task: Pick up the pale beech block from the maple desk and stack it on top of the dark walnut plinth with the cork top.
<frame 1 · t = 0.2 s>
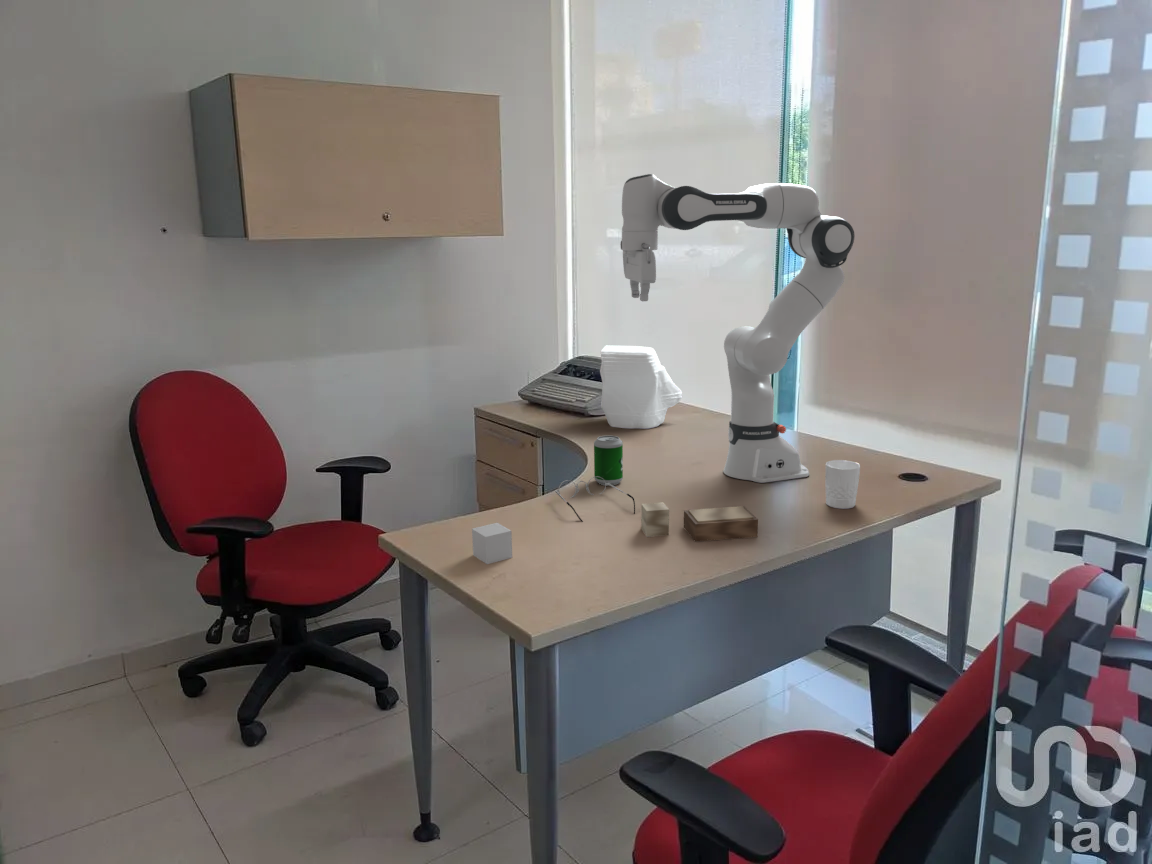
hand: (639, 299, 214), 48 cm above the table, fingers open, 8 cm apart
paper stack: (635, 426, 286), on the table
block: (654, 532, 189), on the table
eyeglasses: (594, 508, 207), on the table
white cup: (840, 505, 205), on the table
plinth: (719, 532, 188), on the table
grey cube: (492, 557, 177), on the table
soda can: (608, 483, 225), on the table
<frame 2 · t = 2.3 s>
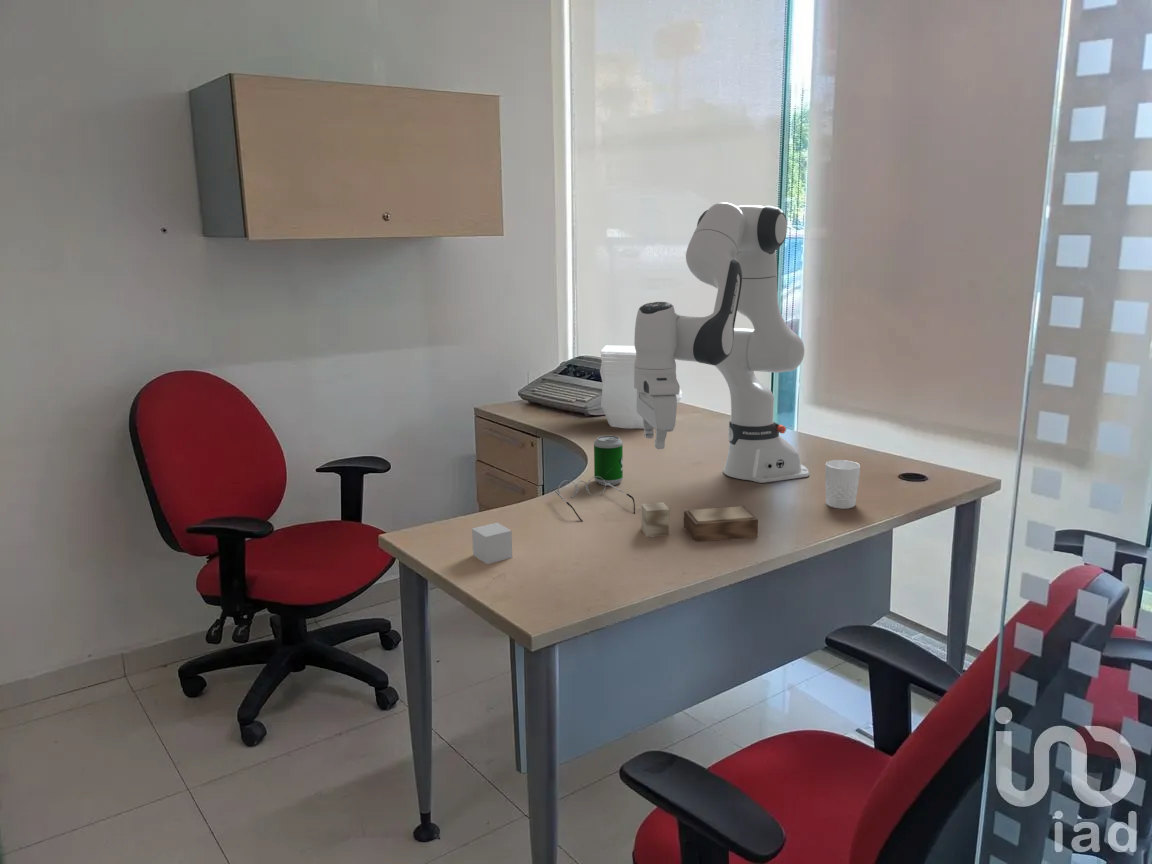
hand: (654, 443, 185), 20 cm above the table, fingers open, 8 cm apart
nothing on the table moved.
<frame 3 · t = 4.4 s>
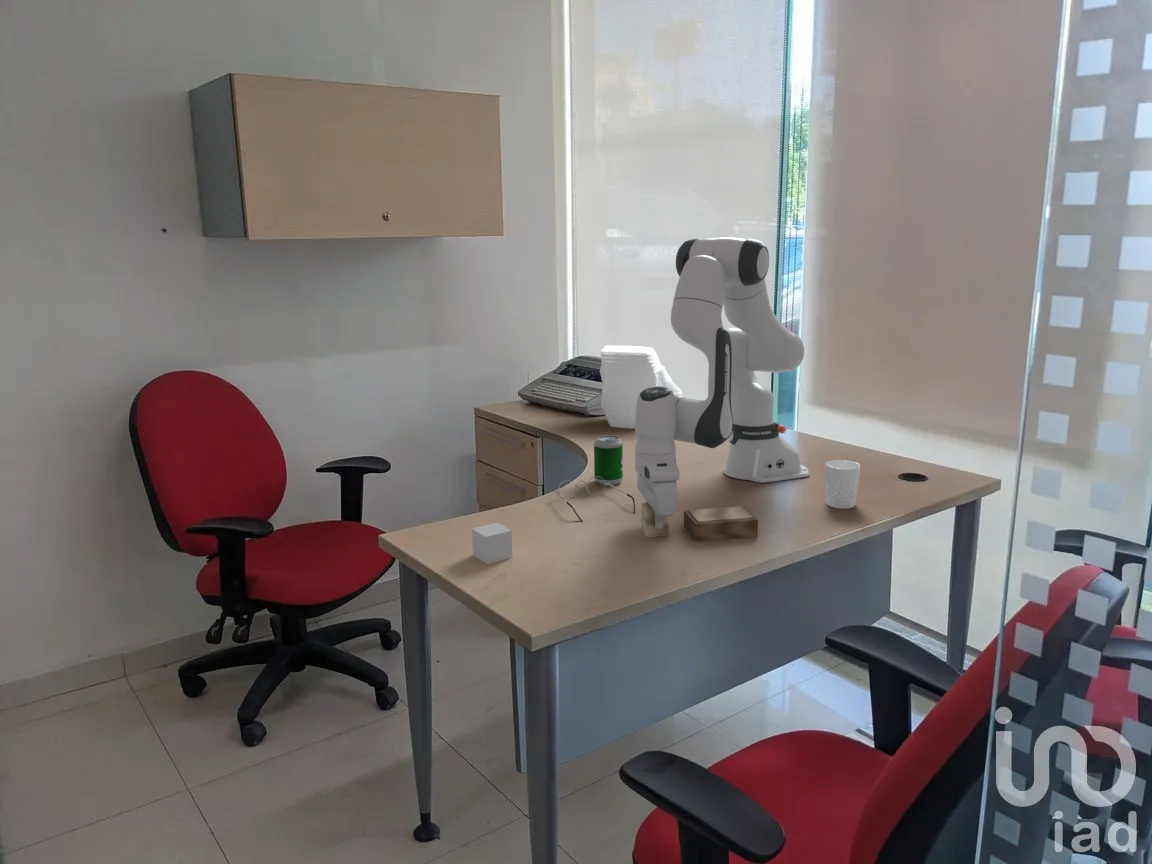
hand: (654, 522, 189), 2 cm above the table, fingers closed on block, 5 cm apart
block: (654, 531, 189), on the table, touching gripper
everything else where it was.
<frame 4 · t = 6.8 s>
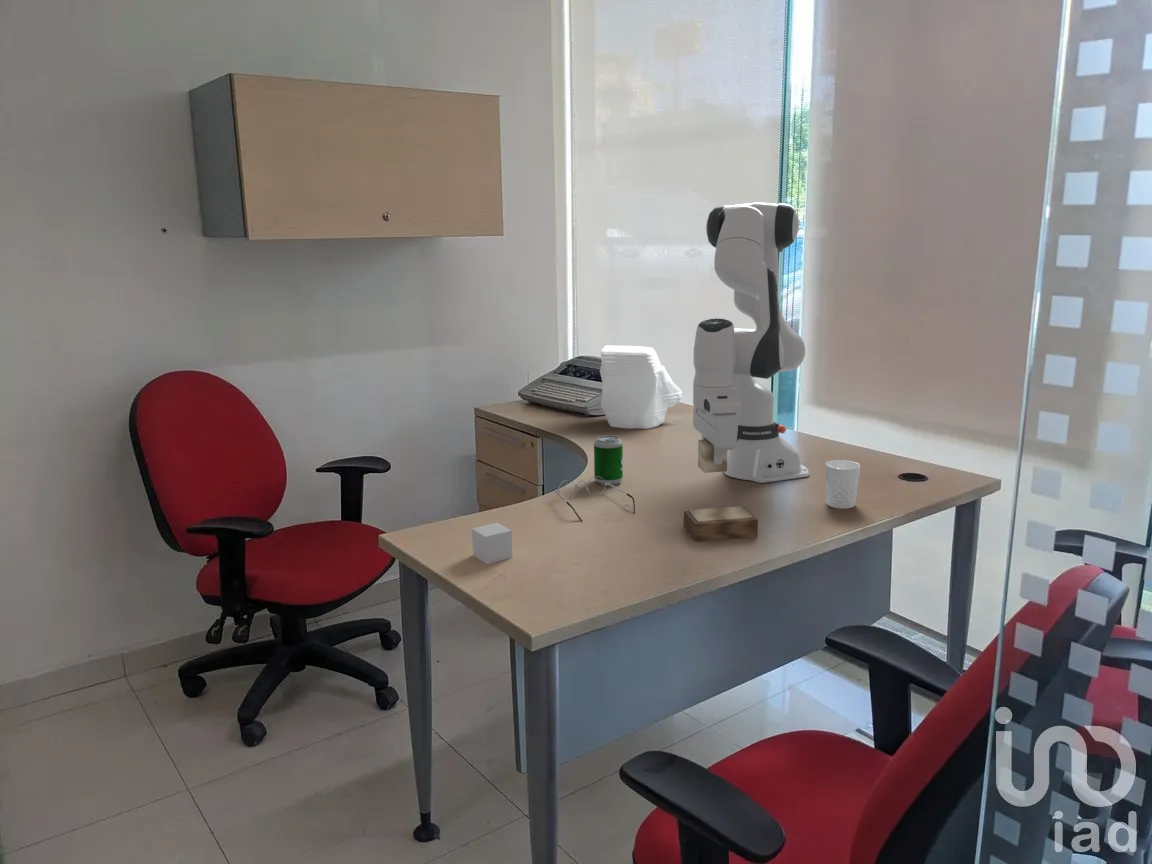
hand: (712, 459, 185), 17 cm above the table, fingers closed on block, 5 cm apart
block: (712, 468, 185), point 14 cm above the table, touching gripper
everything else where it was.
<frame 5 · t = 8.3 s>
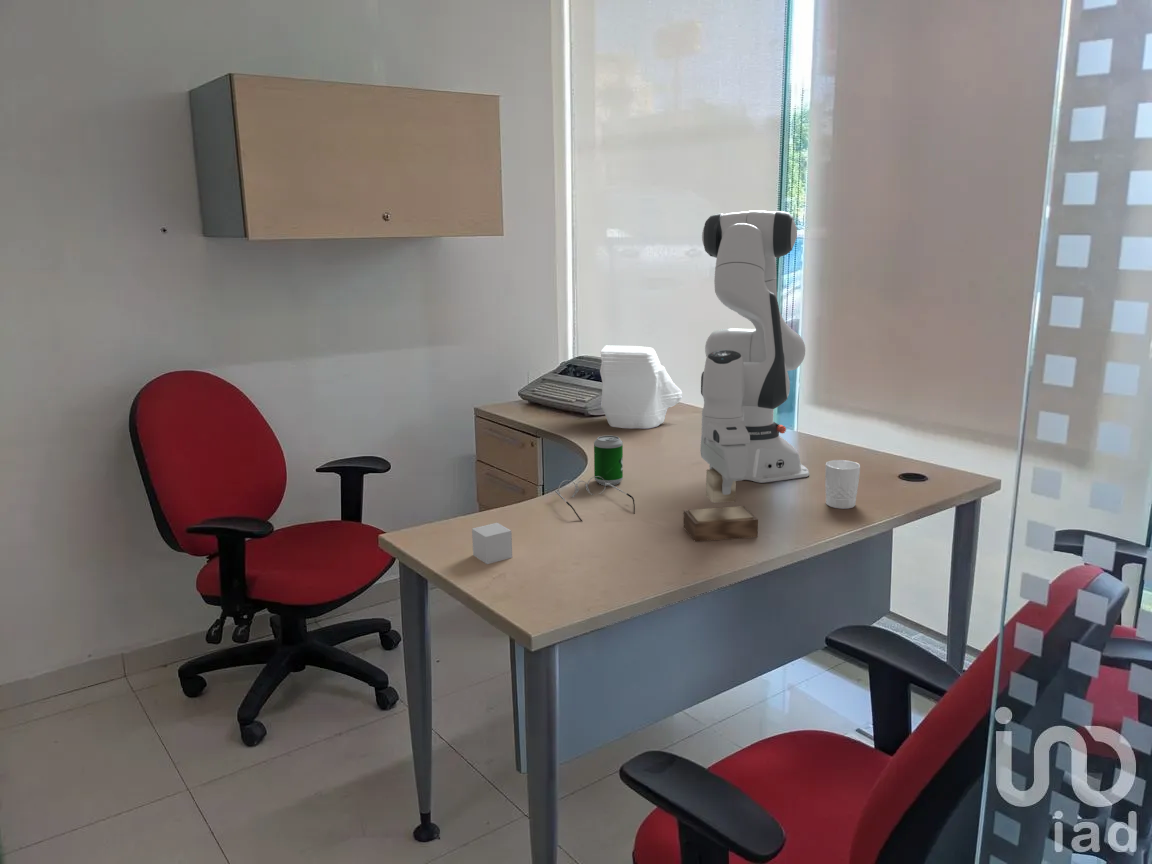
hand: (720, 489, 186), 10 cm above the table, fingers closed on block, 5 cm apart
block: (720, 498, 186), point 8 cm above the table, touching gripper
everything else where it was.
when the fingers open (7 cm above the table, at t = 9.2 s): block stays where it is, resting on plinth.
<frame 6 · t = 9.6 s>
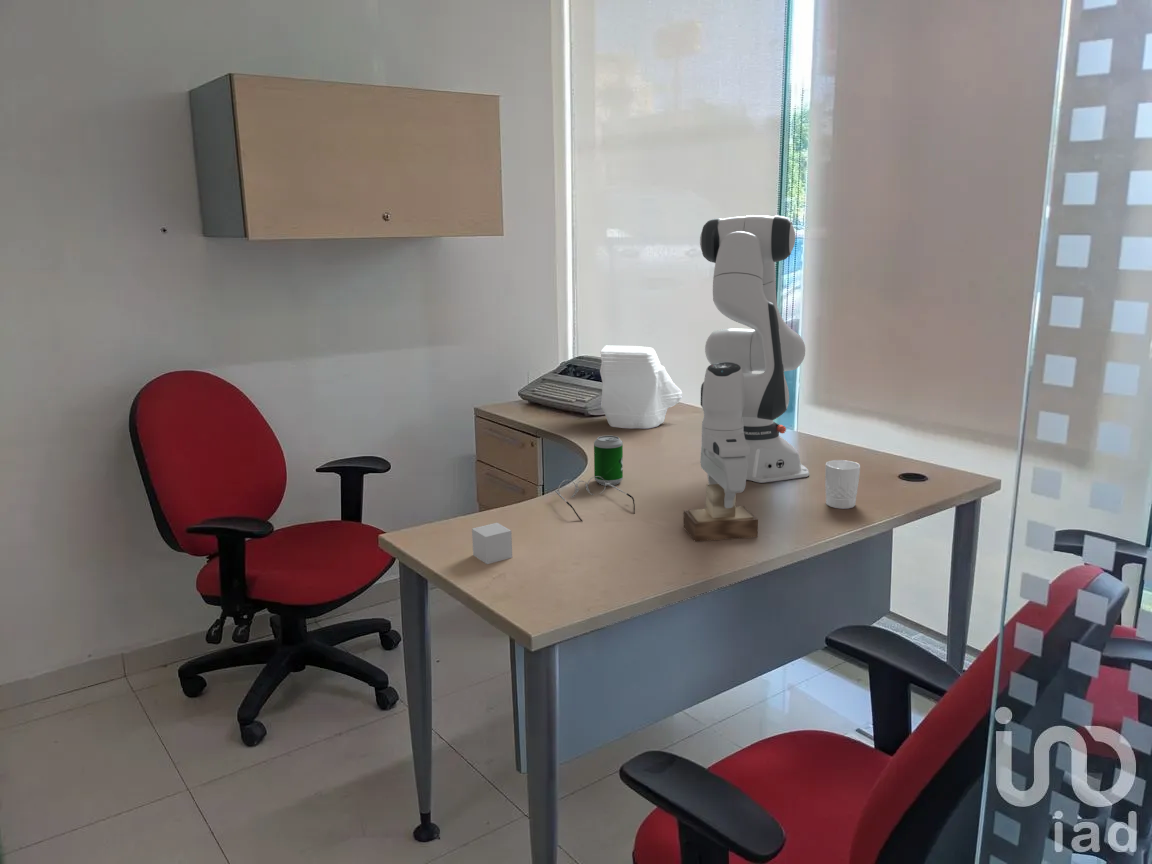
hand: (720, 500, 186), 7 cm above the table, fingers open, 8 cm apart
block: (720, 513, 187), point 4 cm above the table, touching plinth
everything else where it was.
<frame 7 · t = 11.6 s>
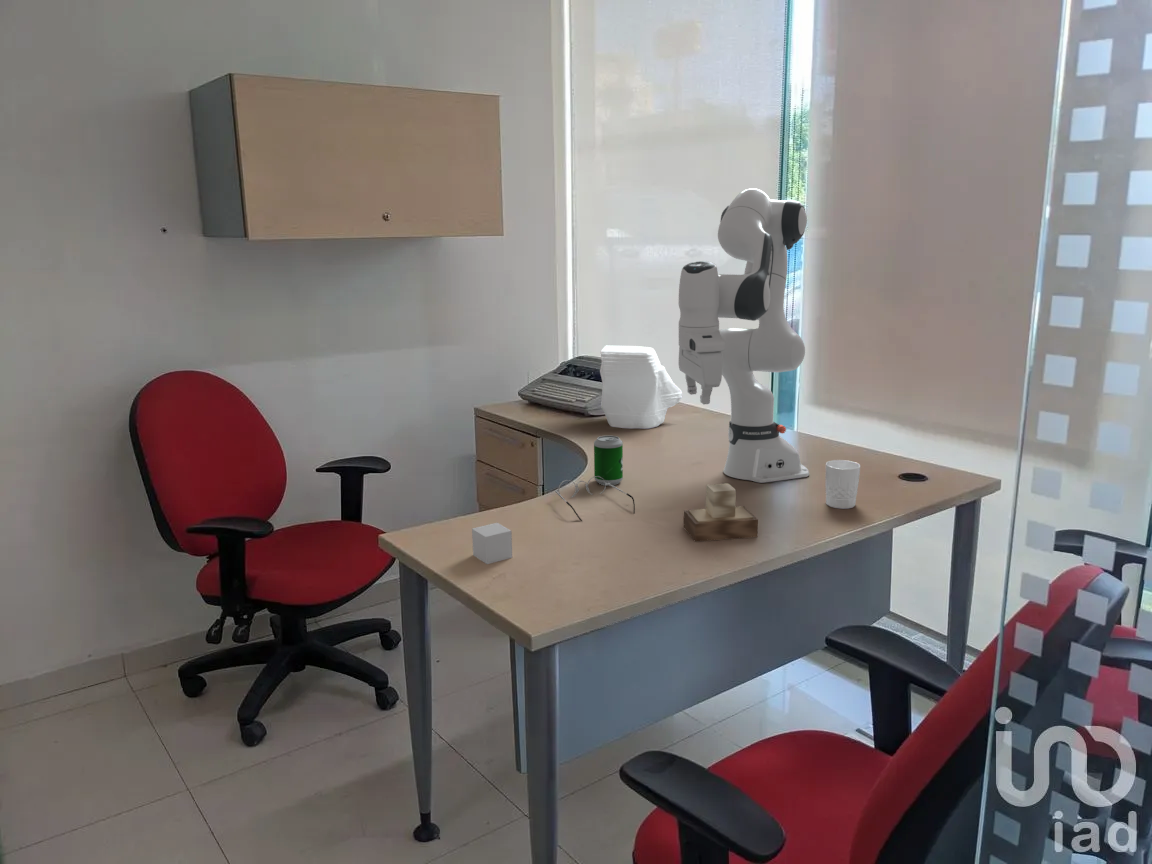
hand: (698, 398, 191), 28 cm above the table, fingers open, 8 cm apart
nothing on the table moved.
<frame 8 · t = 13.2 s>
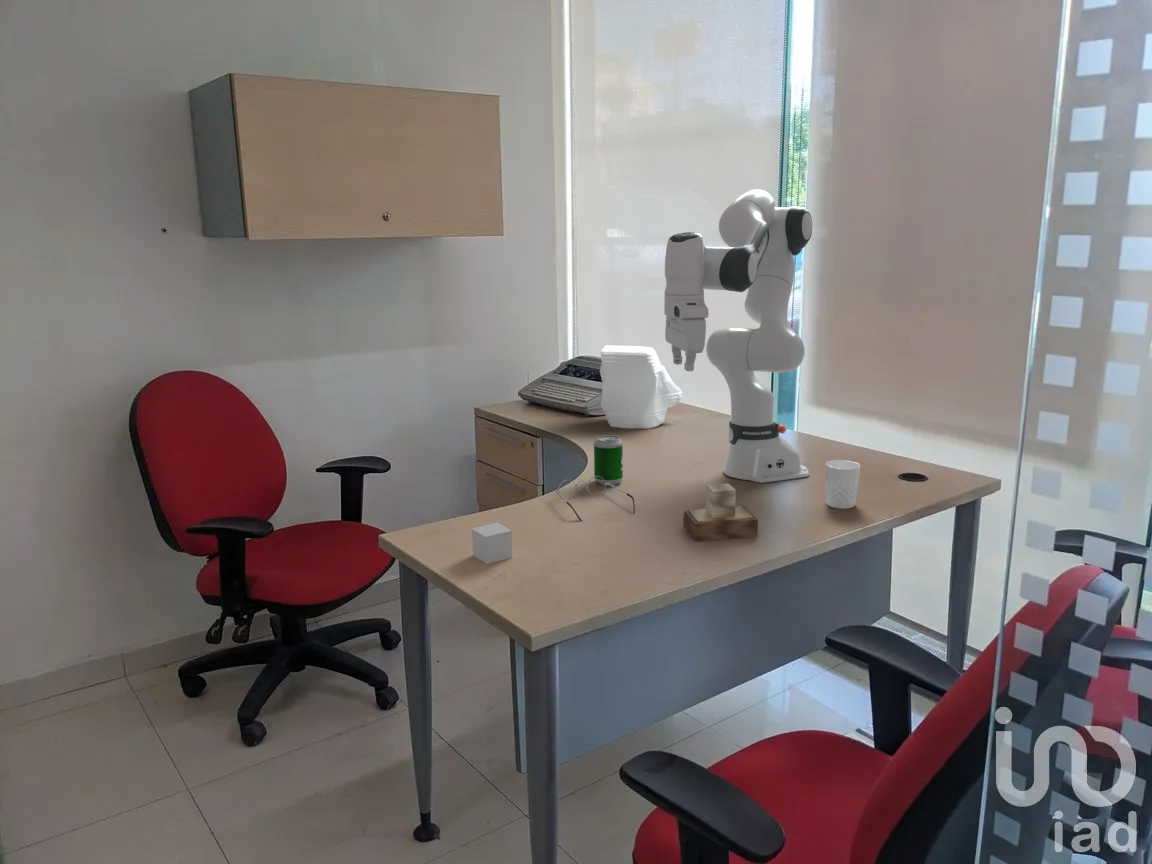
hand: (683, 367, 196), 34 cm above the table, fingers open, 8 cm apart
nothing on the table moved.
at the end: block inside the target area on the plinth (0.1 cm from its centre), point 4.3 cm above the plinth's base; block tilted 0°; the gripper is holding nothing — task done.
